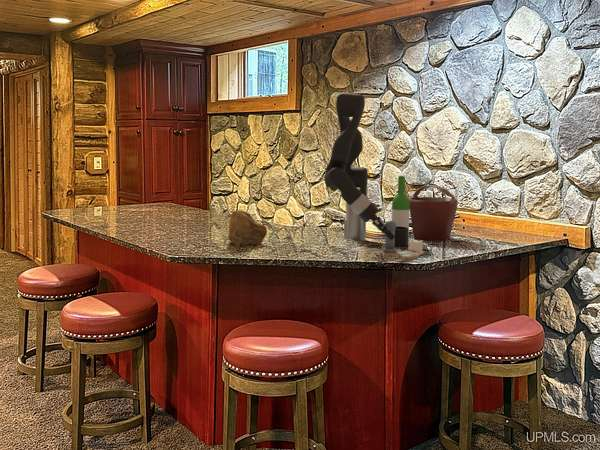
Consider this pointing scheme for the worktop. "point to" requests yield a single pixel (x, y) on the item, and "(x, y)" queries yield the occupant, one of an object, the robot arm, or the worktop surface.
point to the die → (415, 246)
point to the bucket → (432, 215)
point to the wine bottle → (401, 206)
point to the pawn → (389, 243)
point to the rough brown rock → (245, 229)
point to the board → (402, 255)
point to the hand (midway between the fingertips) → (392, 236)
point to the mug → (401, 237)
